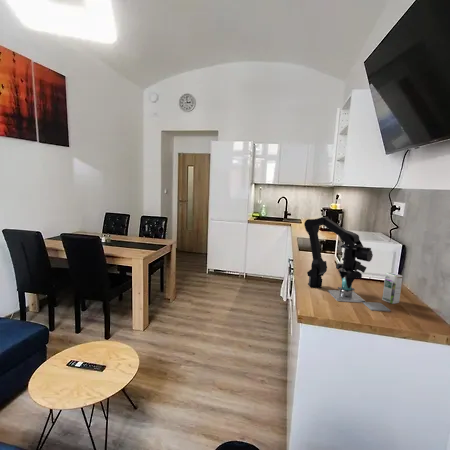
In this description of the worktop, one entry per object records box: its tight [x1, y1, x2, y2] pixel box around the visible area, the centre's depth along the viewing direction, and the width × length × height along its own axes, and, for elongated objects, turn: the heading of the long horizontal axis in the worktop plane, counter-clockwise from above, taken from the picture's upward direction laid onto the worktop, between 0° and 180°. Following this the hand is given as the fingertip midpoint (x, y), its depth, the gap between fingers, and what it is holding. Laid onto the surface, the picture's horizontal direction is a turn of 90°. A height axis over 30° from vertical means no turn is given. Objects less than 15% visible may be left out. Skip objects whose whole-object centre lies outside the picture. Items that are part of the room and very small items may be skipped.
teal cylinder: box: [341, 277, 353, 290], centre depth 149 cm, size 5×5×6 cm
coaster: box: [362, 301, 392, 312], centre depth 138 cm, size 9×9×1 cm
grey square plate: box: [327, 286, 366, 304], centre depth 149 cm, size 14×14×5 cm
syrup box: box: [381, 272, 404, 305], centre depth 145 cm, size 6×6×14 cm
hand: (346, 286), depth 149 cm, fingers closed on teal cylinder, 5 cm apart
